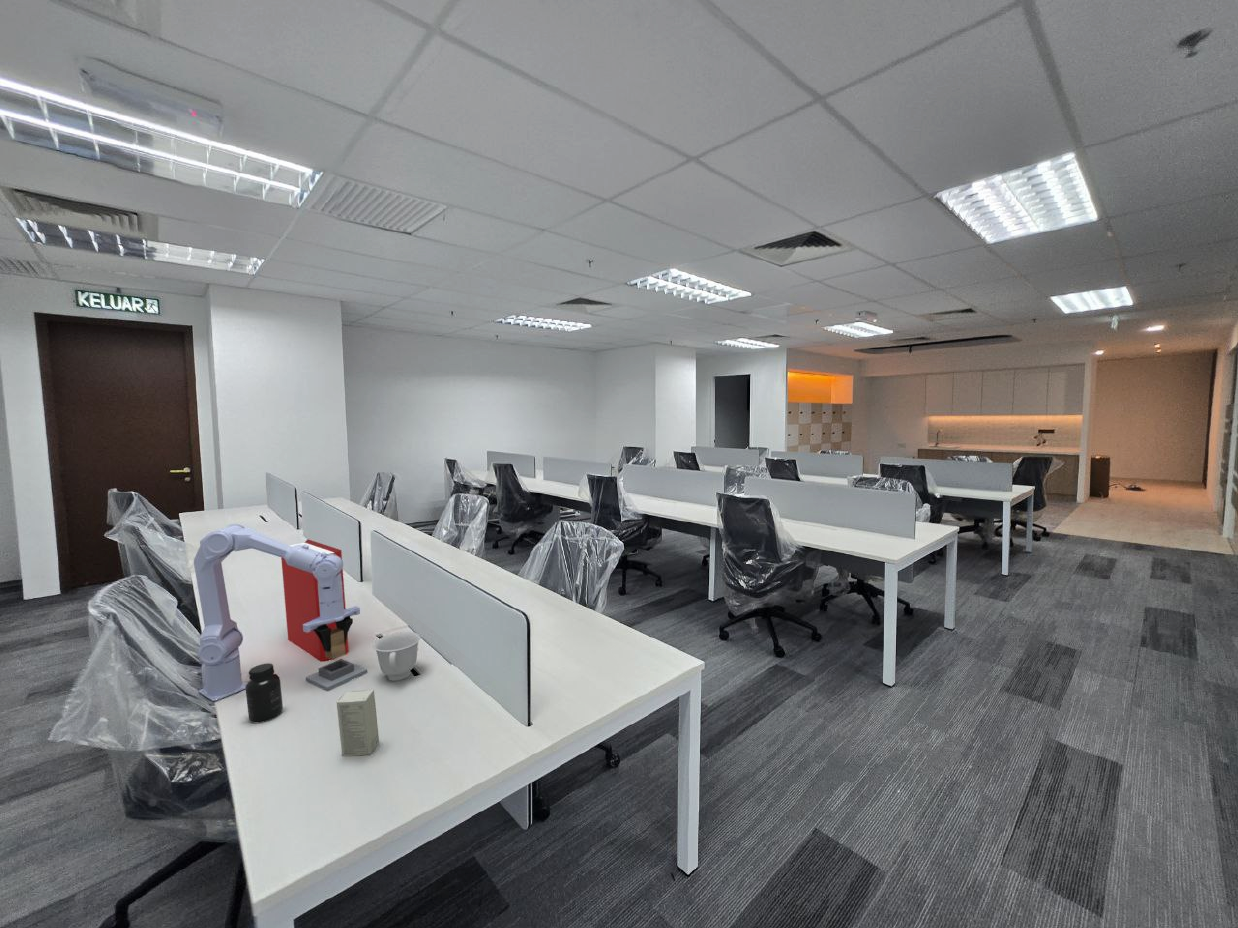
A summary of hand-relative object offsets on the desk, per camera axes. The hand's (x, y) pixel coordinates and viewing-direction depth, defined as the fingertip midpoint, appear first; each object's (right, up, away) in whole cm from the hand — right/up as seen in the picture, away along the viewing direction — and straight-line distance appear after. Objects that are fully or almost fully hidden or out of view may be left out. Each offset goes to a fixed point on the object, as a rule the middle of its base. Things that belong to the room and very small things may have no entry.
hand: (334, 647), depth 138 cm
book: (-17, -7, +21) cm, 28 cm away
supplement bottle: (-7, -10, -17) cm, 21 cm away
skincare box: (+23, -11, -31) cm, 40 cm away
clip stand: (0, -8, +1) cm, 8 cm away
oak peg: (0, -2, 0) cm, 2 cm away
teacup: (+18, -8, -1) cm, 20 cm away
